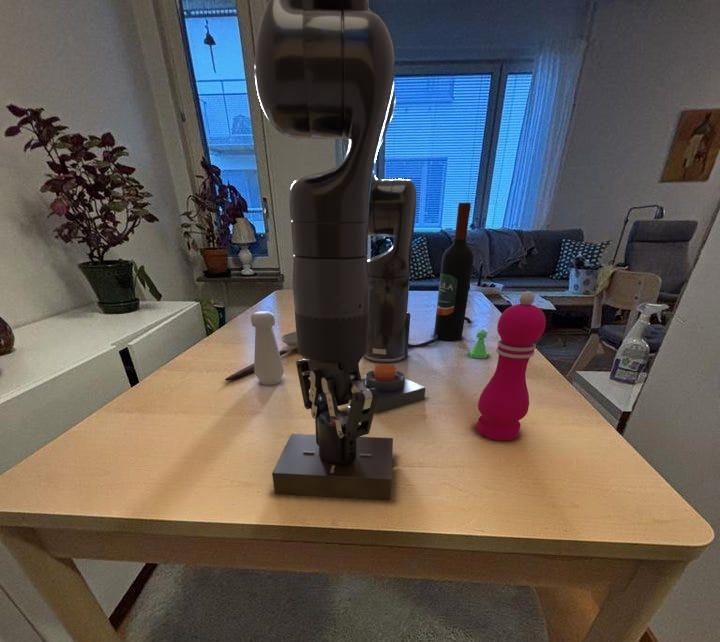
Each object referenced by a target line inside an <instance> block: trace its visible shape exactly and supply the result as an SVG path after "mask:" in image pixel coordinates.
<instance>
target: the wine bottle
mask: <svg viewBox="0 0 720 642" xmlns="http://www.w3.org/2000/svg"><path fill="white" fill-rule="evenodd" d="M471 205H472V203H471V202H458V205H457V216H456V224H455V231H454V239H453V242H452V244H451V245H450V246H449V247H447V249H446V250H445V251H444V253H443V254H442V257H441V267H440V274H439V275H440V276H439V285H438V293H437V294H438V295H437V302H436V313H435V322H434V328H433V329H434V330H433V339H434V338H435V336H436V335H438V336H439V338H438V340H437V341H442V342H443V341H444V342H457V341H461V340H462V338H463V331H464V326H465V320H464V319H465V317H466V311H467V306H468V298H469V292H470V285H471V278H472V271H473V266H474V265H473V264H474V254H473V251H472V249H470V246H468V245H467V237H468V236H467V234H468V228H469V226H468V225H469V219H470V212H471V207H472V206H471Z"/></svg>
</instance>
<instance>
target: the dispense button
mask: <svg viewBox="0 0 720 642" xmlns="http://www.w3.org/2000/svg"><path fill="white" fill-rule="evenodd" d="M373 371H374V378H375V379H378V380H393V379H396V371H397V367H396V366H394V365H390V364H378V365H375V366H374V367H373Z"/></svg>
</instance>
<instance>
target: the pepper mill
mask: <svg viewBox="0 0 720 642" xmlns="http://www.w3.org/2000/svg"><path fill="white" fill-rule="evenodd" d="M535 299H536V298H535V294H534V292H532V291H530V290H527V291H524V292H523V293H521V295H520V297H519V303H517V304H514V305H511V306H509V307H507V308H506V309H505V310H504V311H503V312H502V313H501V315H500V316H499V319H498V322H497V326H496V329H497V330H496V331H497V334H498V336H499V337H500V340H499V341H498V342H497V348H496V350H495V351H496V353H497V354H498V358H497V364H496V368H495V371H494V373H493V375H492V377H491V378H490V380H489V381H488V383H487V384H486V385H485V387H484V388H483V390H482V391H481V393H480V395H479V397H478V398H479V399H478V401H477V409H478V411H479V413H480V414H481V415H480V416H479V417H478V419H477V425H476V430H477V432H478V434H480V435H482V436H483V437H485V438H487V439H491V440H495V441H511V440H513V439H514V440H515V439H516V438H517V437H518V436H519V433H520V430H521V422H520V421H521V420H522V419H524V418H525V417H526V416H527V414H528V412H529V407H530V395H529V390H528V385H527V377H526V374H527V368H528V364H529V361H530V358H532V357H533V356H534V355H535V350H536V348H537V344H536V343H535V342H536V341H538V340H539V339H540V338H541V337H542V336H543V334H544V332H545V330H546V324H547V319H546V314H545V313H544V311H543V310H542V309H541V308H540V307H538V306H536V305H533V303H534V302H535Z"/></svg>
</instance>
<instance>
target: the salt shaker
mask: <svg viewBox="0 0 720 642" xmlns="http://www.w3.org/2000/svg"><path fill="white" fill-rule="evenodd" d="M250 322H251V326H252V327H253V328H254V329H255V330H254V331H255V332H254V357H253V358H254V360H253V361H254V362H253V364H254V371H253V372H254V375H255V376H256V378H257V379H258V380H259V382H260V383H261V384H262V385H267V386H274V385H277V384H280V383H281V381H282V378H283V375H284V373H285V367H284V364H283V361H282V360H283V359H282V356H280V353H279V351H280V350H279V347H278V346H279V345H278V343H277V339H276V336H275V332H274V329H273V327H274V326H275V325H276V319H275V315H274V314H273V313H272V312H270V311H266V310H260V311H255V312H253V313H252V314H251V315H250Z"/></svg>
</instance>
